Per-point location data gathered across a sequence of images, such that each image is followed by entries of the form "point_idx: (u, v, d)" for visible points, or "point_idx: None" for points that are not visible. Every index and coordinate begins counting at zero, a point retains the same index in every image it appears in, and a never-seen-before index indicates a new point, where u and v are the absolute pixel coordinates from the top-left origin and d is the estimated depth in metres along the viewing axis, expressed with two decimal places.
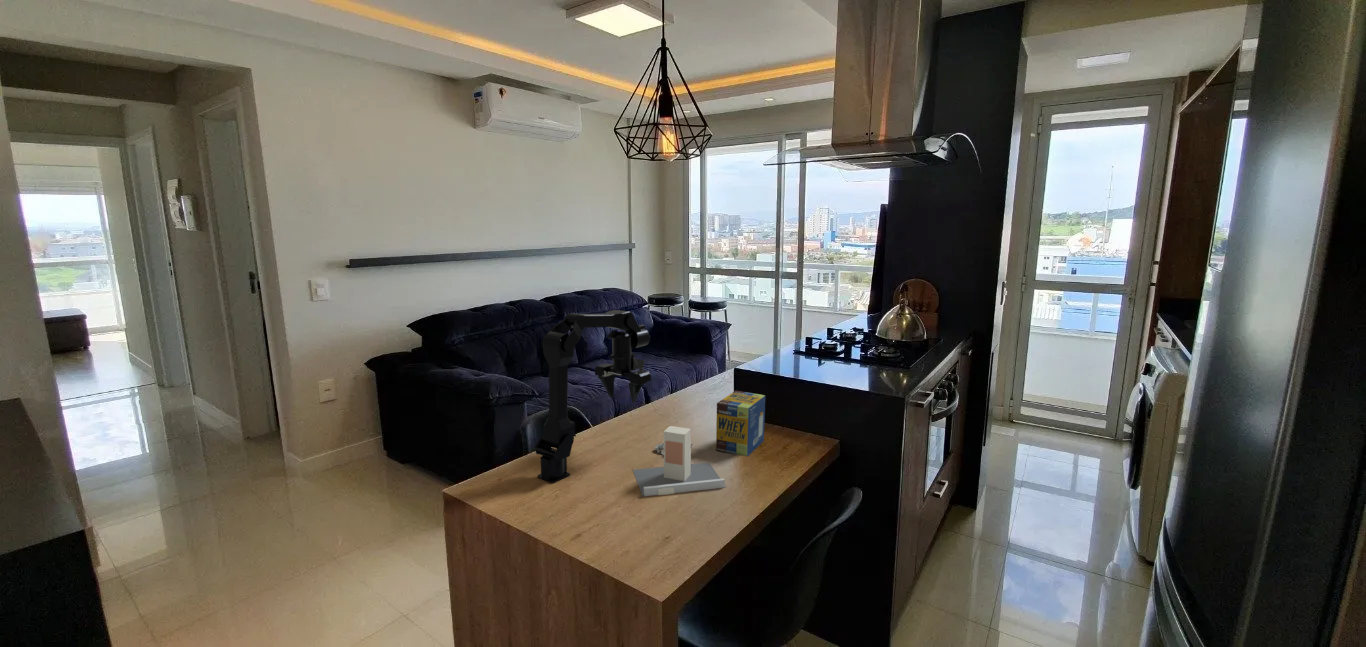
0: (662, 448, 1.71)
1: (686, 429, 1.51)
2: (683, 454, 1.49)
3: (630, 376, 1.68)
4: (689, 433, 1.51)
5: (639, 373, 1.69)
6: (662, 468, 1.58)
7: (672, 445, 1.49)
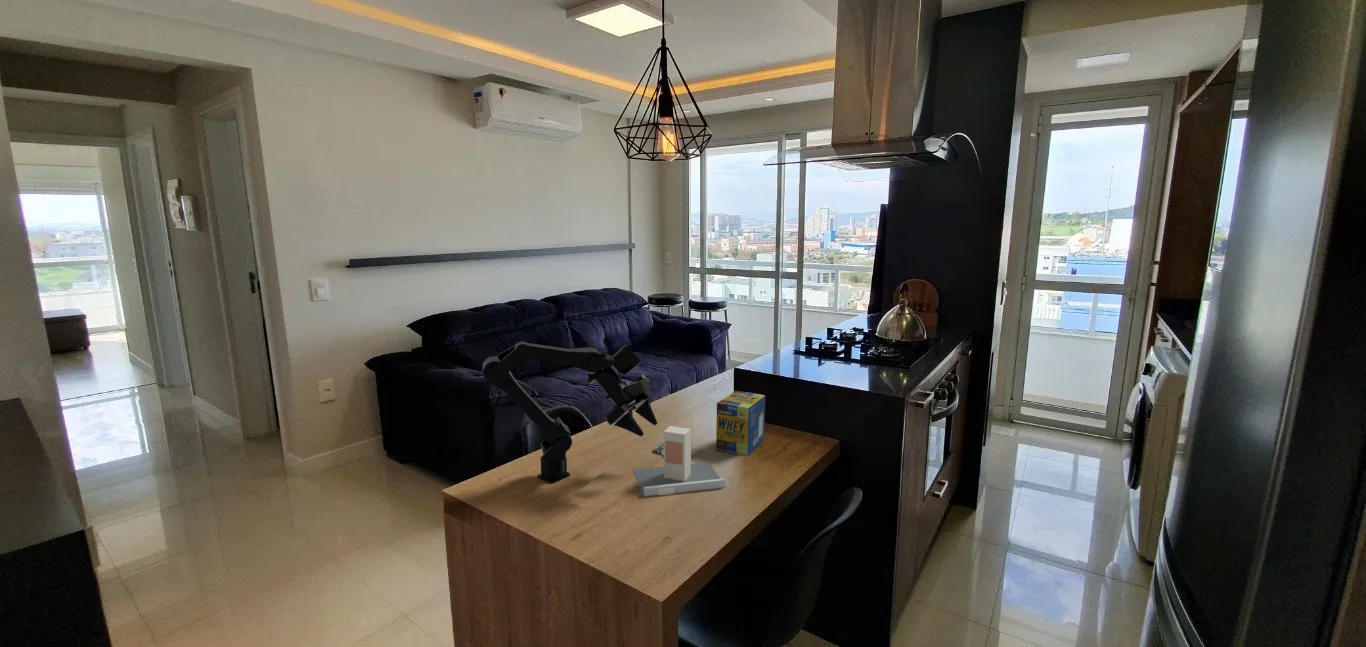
0: (662, 448, 1.71)
1: (686, 429, 1.51)
2: (683, 454, 1.49)
3: None
4: (689, 433, 1.51)
5: (609, 412, 1.48)
6: (662, 468, 1.58)
7: (672, 445, 1.49)
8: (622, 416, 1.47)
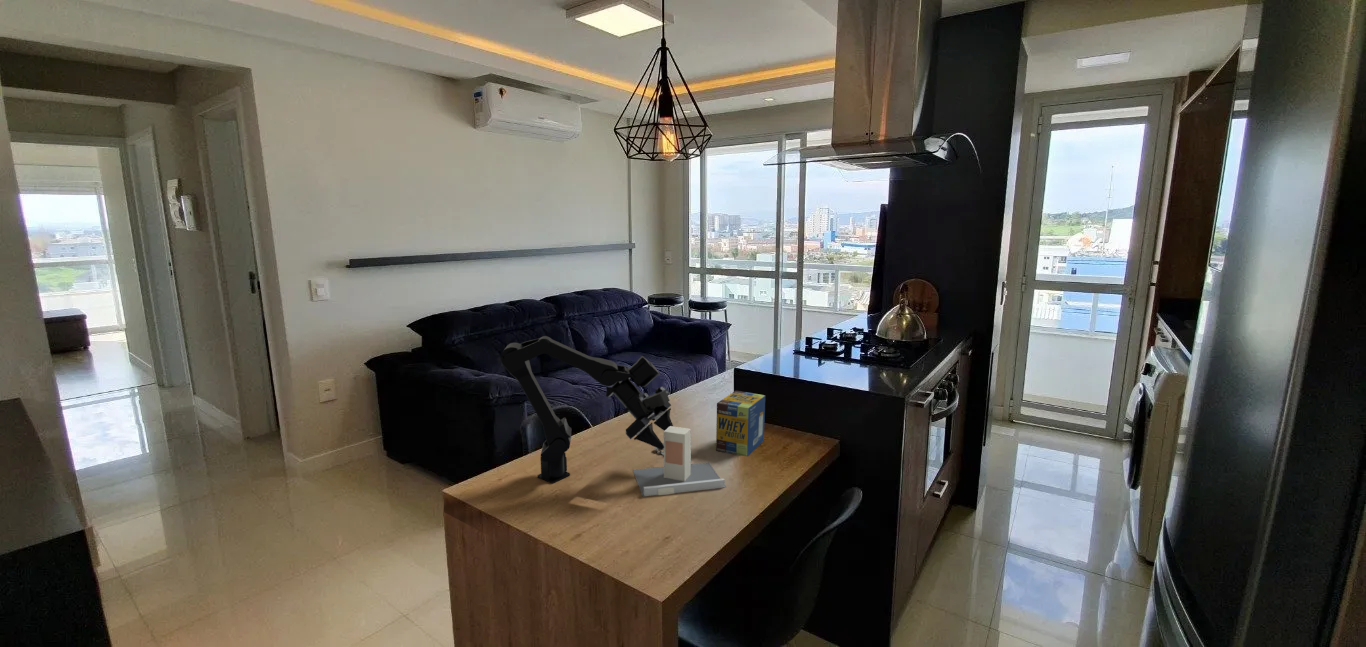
0: None
1: (686, 429, 1.51)
2: (683, 454, 1.49)
3: None
4: (689, 433, 1.51)
5: (629, 426, 1.47)
6: (662, 468, 1.58)
7: (672, 445, 1.49)
8: (642, 430, 1.46)
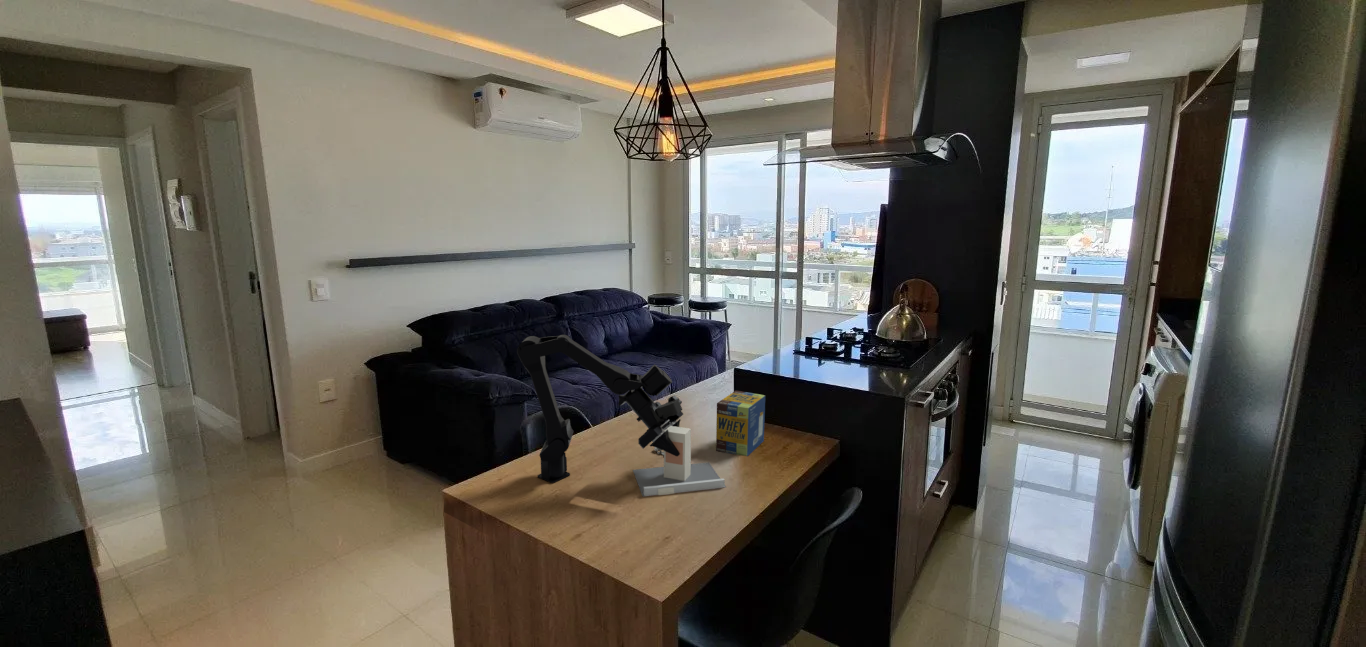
0: None
1: (686, 429, 1.51)
2: (683, 454, 1.49)
3: None
4: (689, 433, 1.51)
5: (642, 435, 1.46)
6: (662, 468, 1.58)
7: None
8: (658, 436, 1.46)
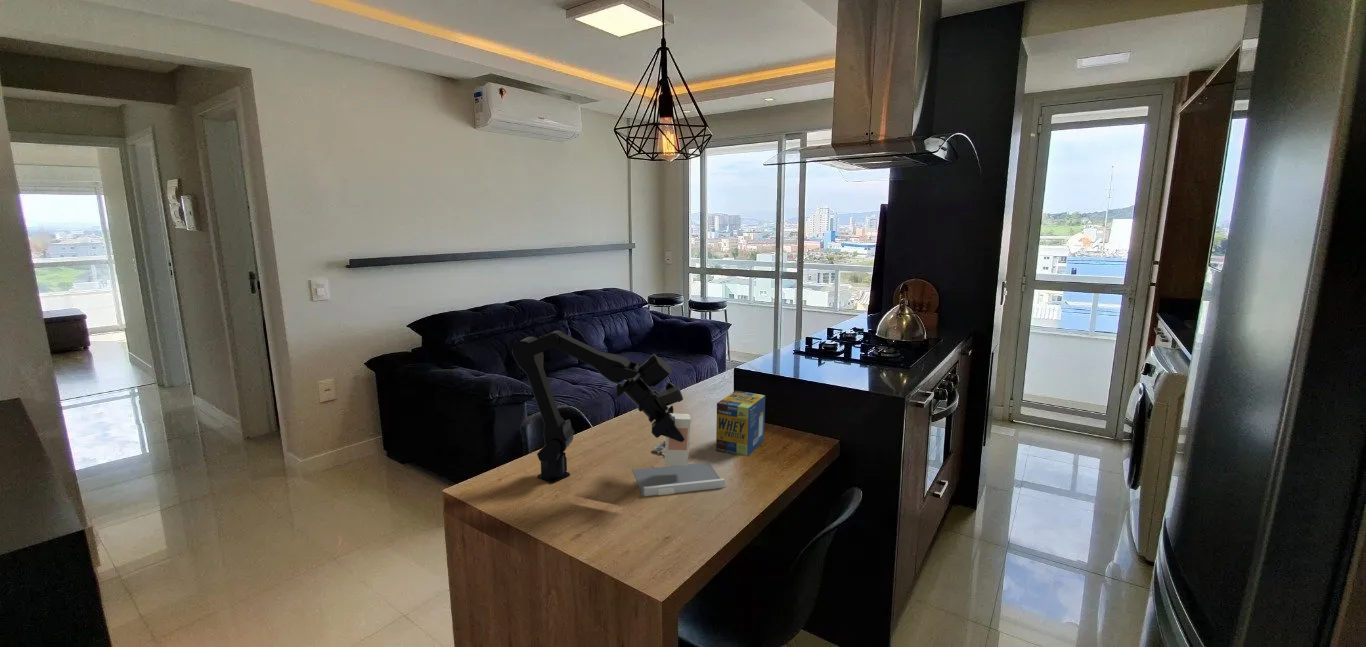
0: (661, 448, 1.70)
1: (686, 414, 1.53)
2: (688, 439, 1.50)
3: None
4: None
5: (655, 424, 1.42)
6: (662, 468, 1.58)
7: None
8: None
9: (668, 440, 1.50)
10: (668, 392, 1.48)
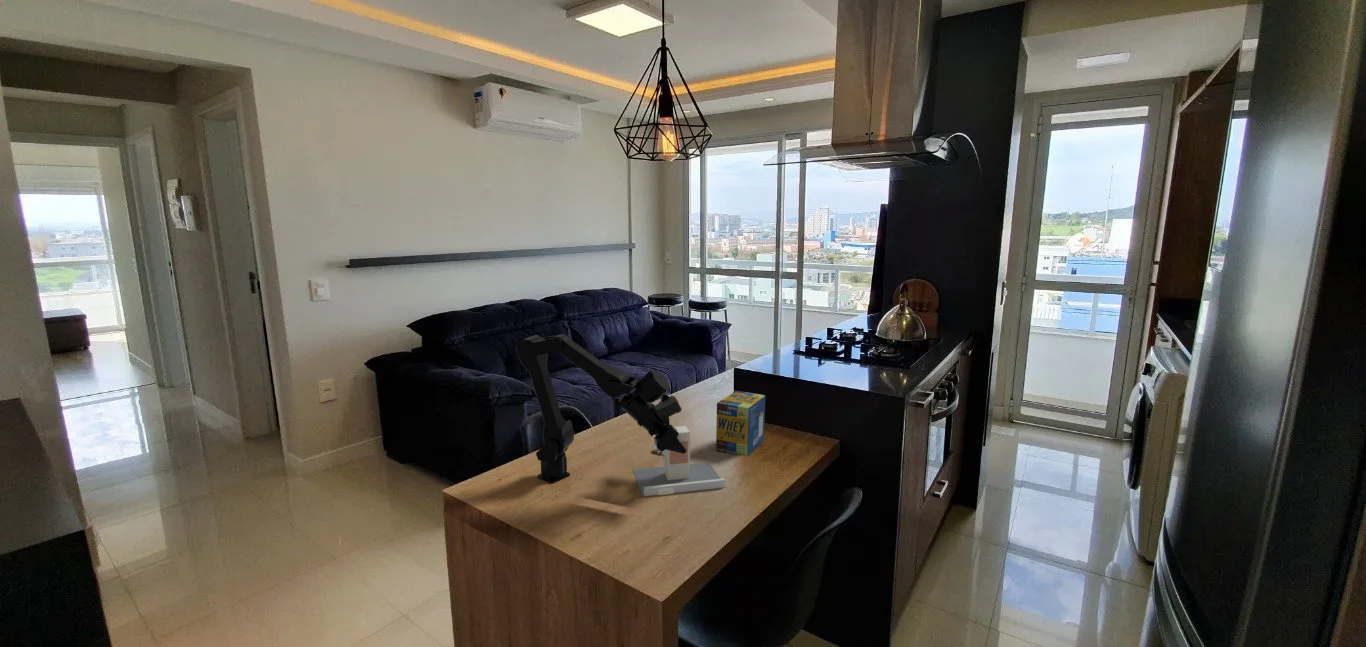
0: None
1: (683, 427, 1.53)
2: (688, 451, 1.50)
3: (654, 442, 1.43)
4: None
5: (659, 438, 1.41)
6: (662, 468, 1.58)
7: None
8: None
9: (669, 455, 1.49)
10: (666, 404, 1.48)
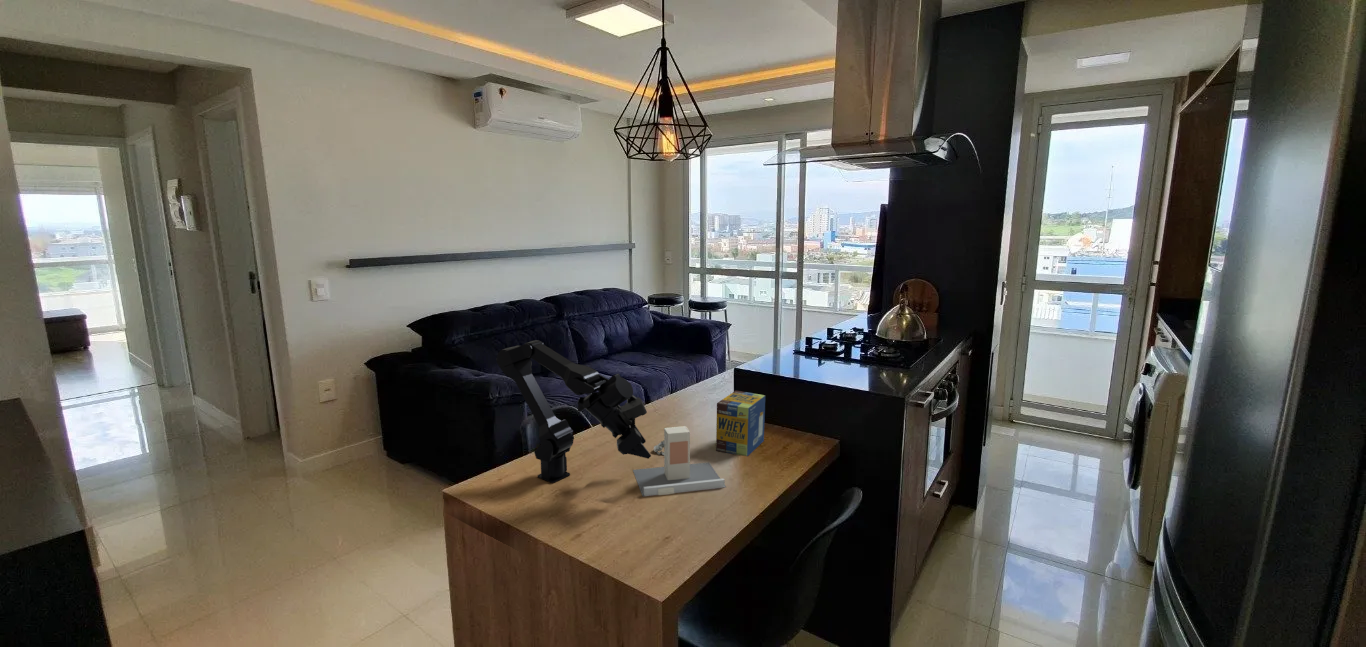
0: (660, 449, 1.70)
1: (683, 427, 1.53)
2: (688, 451, 1.50)
3: None
4: None
5: (620, 441, 1.40)
6: (662, 468, 1.58)
7: (677, 445, 1.49)
8: (635, 442, 1.40)
9: (669, 455, 1.49)
10: (631, 406, 1.45)
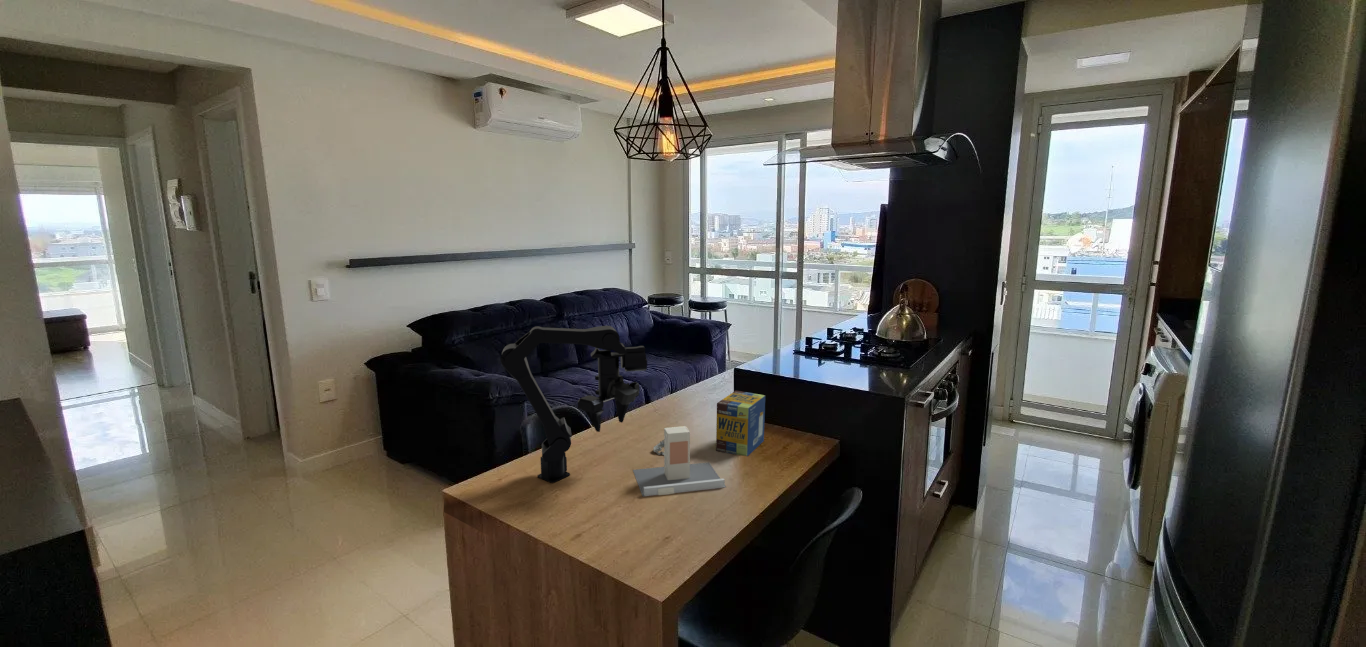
0: (659, 449, 1.70)
1: (683, 427, 1.53)
2: (688, 451, 1.50)
3: None
4: None
5: (585, 398, 1.50)
6: (662, 468, 1.58)
7: (677, 445, 1.49)
8: None
9: (669, 455, 1.49)
10: (621, 389, 1.51)
